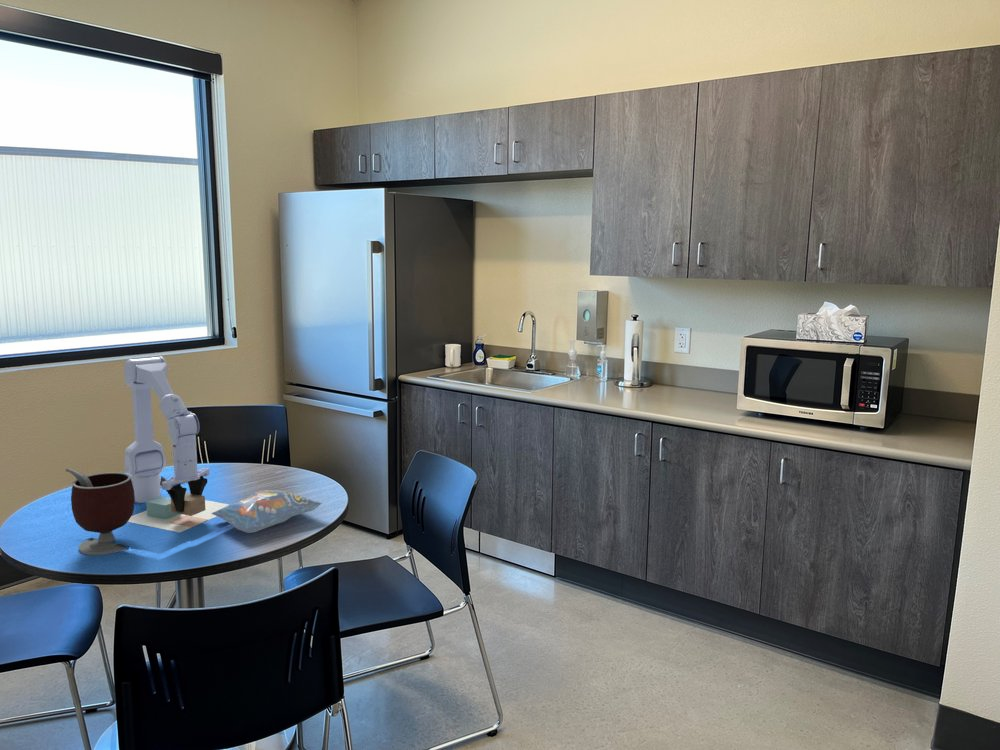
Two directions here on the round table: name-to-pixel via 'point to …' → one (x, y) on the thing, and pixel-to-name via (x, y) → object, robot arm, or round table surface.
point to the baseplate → (178, 518)
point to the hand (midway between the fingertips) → (188, 508)
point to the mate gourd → (102, 508)
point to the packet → (265, 510)
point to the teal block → (160, 508)
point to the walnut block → (191, 504)
